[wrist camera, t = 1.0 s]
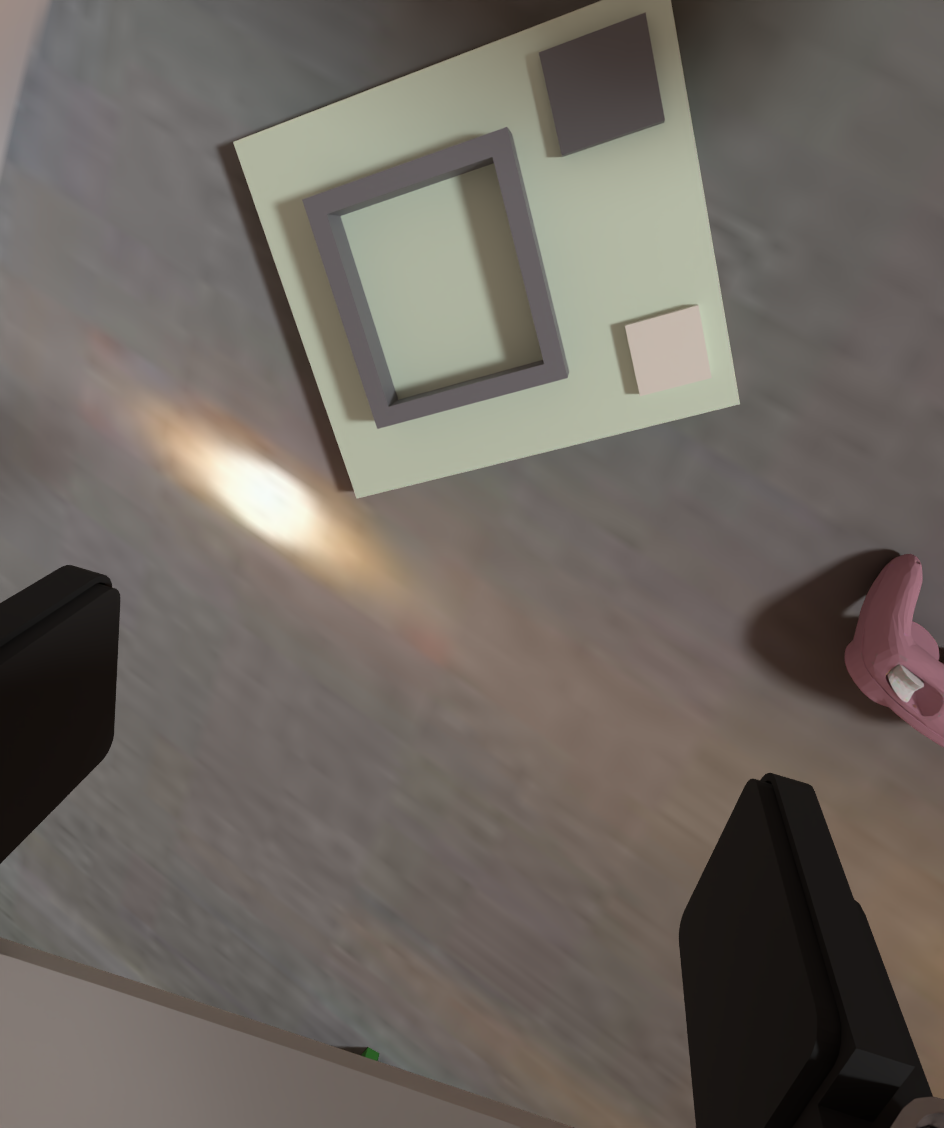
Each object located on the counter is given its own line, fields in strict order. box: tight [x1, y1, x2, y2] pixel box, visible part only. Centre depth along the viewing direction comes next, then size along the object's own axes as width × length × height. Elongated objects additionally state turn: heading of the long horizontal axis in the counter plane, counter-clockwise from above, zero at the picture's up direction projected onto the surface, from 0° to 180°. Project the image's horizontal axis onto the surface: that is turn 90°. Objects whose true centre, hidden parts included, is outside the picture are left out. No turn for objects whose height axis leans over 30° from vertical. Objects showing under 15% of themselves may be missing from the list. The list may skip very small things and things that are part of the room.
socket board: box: [233, 0, 740, 498], centre depth 33 cm, size 18×16×3 cm
